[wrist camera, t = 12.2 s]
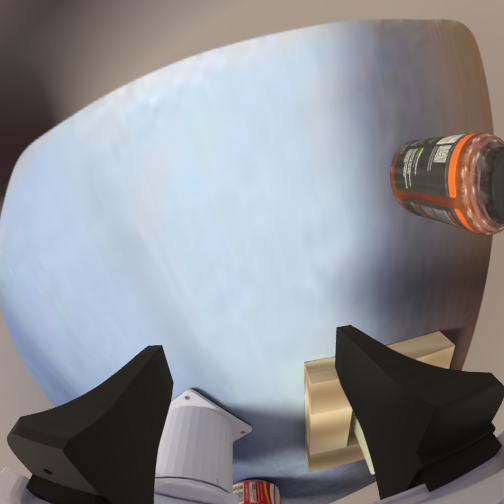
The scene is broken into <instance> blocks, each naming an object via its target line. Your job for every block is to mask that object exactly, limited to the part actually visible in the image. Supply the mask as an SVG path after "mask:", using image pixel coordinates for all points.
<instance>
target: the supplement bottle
mask: <svg viewBox="0 0 504 504" xmlns="http://www.w3.org/2000/svg"><path fill="white" fill-rule="evenodd" d="M390 179H391V185H392V189H393V192H394V195H395V197H396V198H397V200H398V202H399V203H400V204H401V205H402V206H403V207H404V208H405V209H406V210H408V211H409V212H411V213H414V214H416V215H419V216H423V217H426V218H430V219H433V220H437V221H440V222H444V223H447V224H451V225H454V226H457V227H460V228H464V229H467V230H471V231H473V232H477V233H480V234H485V235H493V234H497V233H499V232H501V231H503V230H504V142H503V141H502V140H501V139H500V138H498V137H497V136H495V135H492V134H488V133H475V134H463V135H454V136H445V137H436V138H428V139H421V140H416V141H411V142H409V143H406V144H405V145H403V146H402V147H401V148H400V149H399V150H398V151H397V153H396V154H395V156H394V159H393V161H392V165H391V171H390Z"/></svg>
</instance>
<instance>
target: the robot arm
mask: <svg viewBox="0 0 504 504" xmlns="http://www.w3.org/2000/svg"><path fill="white" fill-rule="evenodd" d="M335 369H336V372H337V375H338V378H339V381H340V384H341V387H342V389H343V391H344V393H345V395H346V397H347V399H348V401H349V403H350V406H351V408H352V410H353V412H354V414H355V416H356V418H357V420H358V422H359V424H360V427H361V429H362V432H363V435H364V438H365V441H366V444H367V447H368V450H369V454H370V457H371V461H372V465H373V468H374V472H375V477H376V481H377V485H378V490H379V495H380V501H376V502H373V503H370V504H504V431H503V432H502V433H501V434H500V435H499V436H498V437H497V438H496V437H495V435H494V434H493V432H494V431H495V426H494V425H493V424H492V423H491V422H492V420H493V418H494V416H495V415H496V413H497V411H498V409H499V407H500V405H501V403H502V400H503V398H504V386H503V384H502V383H501V382H500V381H499V380H498V379H497V378H496V377H495V376H494V375H493V374H492V373H485V372H484V373H483V372H466V371H459V370H452V369H447V368H442V367H438V366H434V365H431V364H427V363H424V362H421V361H418V360H416V359H413V358H410V357H408V356H406V355H403V354H401V353H399V352H397V351H395V350H393V349H391V348H389V347H387V346H385V345H384V344H382V343H380V342H378V341H377V340H375V339H373V338H372V337H370V336H368V335H367V334H365V333H363V332H362V331H360V330H358V329H357V328H355V327H353V326H351V325H348V326H342V327H337V330H336V354H335ZM172 391H173V380H172V376H171V373H170V370H169V367H168V364H167V360H166V357H165V354H164V350H163V347H162V345H154V346H148V347H146V348H145V349H144V350H142V351H141V352H140V353H139V354H138V355H136V356H135V357H134V358H133V359H132V360H131V361H129V362H128V363H127V364H126V365H125V366H124V367H122V368H121V369H120V370H119V371H118V372H116V373H115V374H114V375H112V376H111V377H110V378H108V379H107V380H106V381H104V382H103V383H102V384H100V385H99V386H97V387H96V388H94V389H92V390H91V391H89V392H87V393H86V394H84V395H82V396H80V397H78V398H76V399H74V400H72V401H70V402H68V403H66V404H63V405H61V406H58V407H55V408H53V409H50V410H47V411H43V412H40V413H36V414H31V415H27V416H22V417H20V418H19V420H18V421H17V422H16V424H15V425H14V427H13V428H12V430H11V432H10V433H9V435H8V436H7V441H8V444H9V446H10V448H11V450H12V451H13V452H14V454H15V455H16V456H17V457H18V459H19V460H20V461H21V462H22V463H23V464H24V466H25V467H27V469H28V470H29V471H30V472H31V473H32V474H33V475H32V477H31V478H30V479H28V478H27V477H26V476H24V475H22V474H20V473H18V472H16V471H13V470H12V469H9V468H8V467H4V469H3V471H2V472H1V474H0V504H239V495H235V494H233V442H234V441H236V440H238V439H240V438H241V437H243V436H245V435H246V434H248V433H250V432H251V431H252V427H251V426H250V425H248V424H246V423H245V422H243V421H241V420H240V419H238V418H236V417H235V416H233V415H231V414H230V413H228V412H227V411H225V410H223V409H222V408H220V407H219V406H217V405H216V404H214V403H213V402H211V401H210V400H208V399H207V398H205V397H204V396H202V395H201V394H199V393H198V392H196V391H195V390H193V389H188V390H186V391H185V392H184V393H182V394H181V395H180V396H178V397H177V398H176V399H174V400H173V401H172V402H171V398H172ZM186 396H189V397H186Z"/></svg>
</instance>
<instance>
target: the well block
mask: <svg viewBox="0 0 504 504" xmlns="http://www.w3.org/2000/svg"><path fill="white" fill-rule="evenodd" d="M386 346H387V347H389V348H391V349H393V350H395V351H397V352H399V353H401V354H403V355H406V356H408V357H410V358H413V359H416V360H418V361H421V362H424V363H427V364H431V365H434V366H438V367H442V368H447V369H449V366H450V363H451V359H452V355H453V352H454V348H455V345H454V344H453V343H452V342H451V341H450V340H449V339H448V338H446V337H445V336H444V335H443V334H442V333H441V332H440V331H436V332H433V333H430V334H427V335H423V336H420V337H416V338H413V339H409V340H405V341H402V342H398V343H394V344H390V345H386ZM304 375H305V455H306V459H307V464H308V468H309V472H311V471H316V470H321V469H326V468H331V467H335V466H340V465H344V464H348V463H352V462H356V461H359V460H363V459H365V457H364V454H363V452H362V449H361V447H360V444H359V442H358V439H357V437H356V435H355V432H354V430H353V427H352V425H350V422H351V416H352V408H351V406H350V403H349V401H348V399H347V397H346V395H345V393H344V391H343V389H342V387H341V384H340V381H339V378H338V375H337V372H336V369H335V357H331V358H326V359H320V360H315V361H309V362H304Z"/></svg>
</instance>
